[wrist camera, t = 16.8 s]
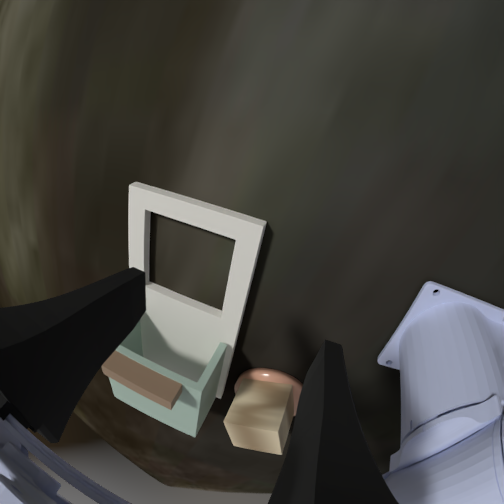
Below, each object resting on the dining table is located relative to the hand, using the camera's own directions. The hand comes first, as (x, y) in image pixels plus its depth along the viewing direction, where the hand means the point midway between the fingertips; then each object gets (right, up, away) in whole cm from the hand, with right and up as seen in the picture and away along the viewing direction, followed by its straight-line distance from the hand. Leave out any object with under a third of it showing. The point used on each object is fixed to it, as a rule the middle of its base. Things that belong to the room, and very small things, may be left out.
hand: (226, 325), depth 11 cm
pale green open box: (-6, -7, +16) cm, 18 cm away
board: (-5, -2, +14) cm, 15 cm away
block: (+3, -11, +15) cm, 19 cm away
